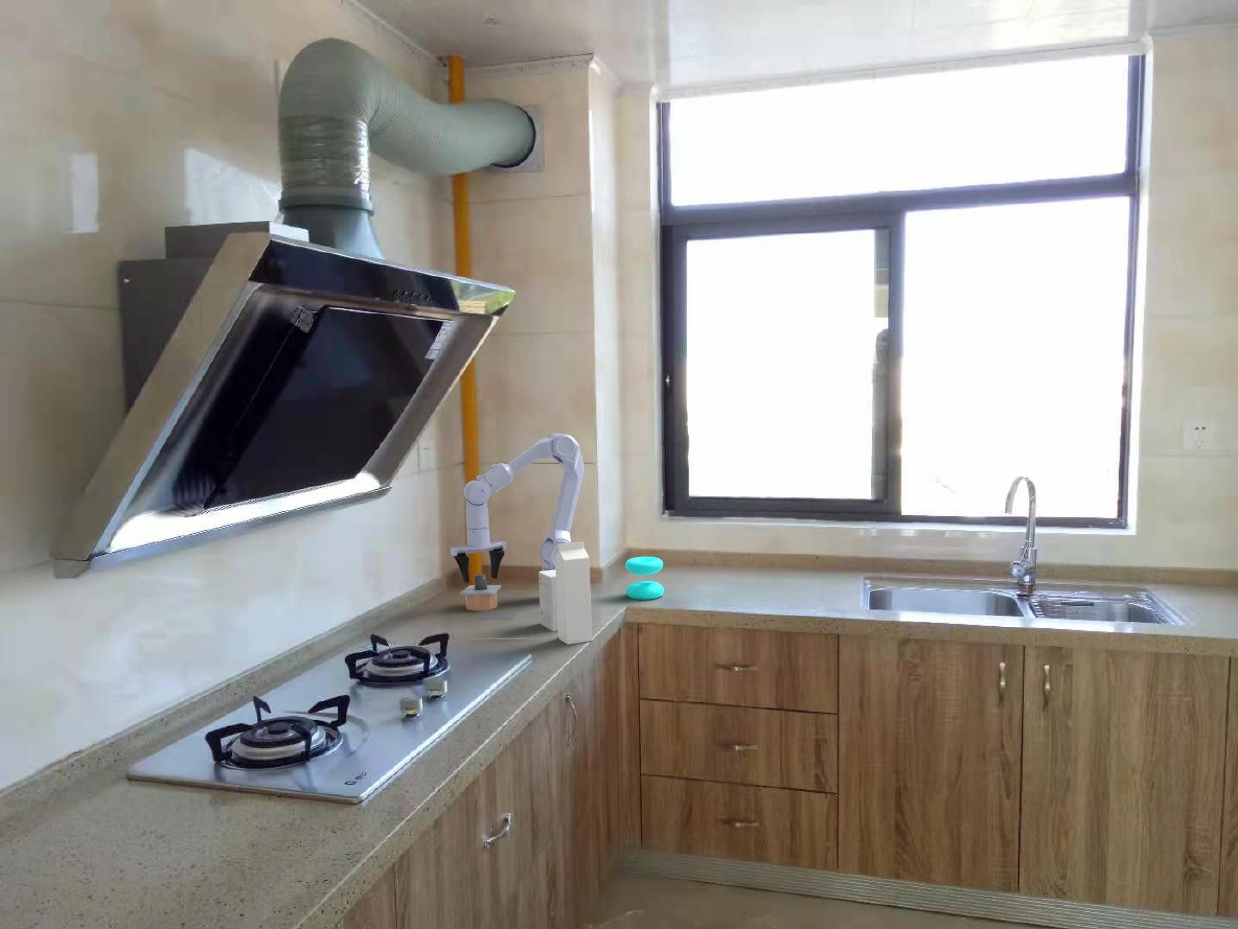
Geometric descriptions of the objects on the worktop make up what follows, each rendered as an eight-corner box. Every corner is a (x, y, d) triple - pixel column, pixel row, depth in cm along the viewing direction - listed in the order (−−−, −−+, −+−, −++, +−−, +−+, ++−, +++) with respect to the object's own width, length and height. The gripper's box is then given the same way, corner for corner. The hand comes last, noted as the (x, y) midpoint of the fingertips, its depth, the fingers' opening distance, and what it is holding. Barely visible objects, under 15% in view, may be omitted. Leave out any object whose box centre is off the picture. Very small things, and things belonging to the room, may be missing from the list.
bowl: (500, 604, 248) (499, 587, 248) (492, 612, 240) (491, 594, 240) (471, 604, 249) (470, 587, 249) (462, 612, 242) (461, 594, 241)
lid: (501, 587, 248) (500, 572, 248) (492, 594, 240) (491, 578, 239) (470, 587, 249) (469, 572, 249) (460, 594, 241) (459, 579, 240)
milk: (592, 641, 210) (589, 543, 208) (566, 645, 208) (563, 546, 206) (582, 634, 216) (579, 539, 214) (557, 638, 214) (554, 541, 211)
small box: (577, 628, 221) (575, 573, 220) (552, 632, 219) (550, 577, 217) (564, 621, 229) (562, 568, 228) (539, 625, 226) (537, 571, 225)
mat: (519, 612, 239) (519, 610, 239) (510, 621, 230) (510, 619, 230) (485, 612, 241) (484, 610, 241) (474, 621, 232) (474, 619, 232)
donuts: (624, 563, 246) (625, 556, 256) (625, 601, 247) (626, 592, 257) (663, 562, 246) (662, 555, 256) (664, 600, 247) (663, 591, 257)
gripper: (498, 523, 250) (500, 573, 251) (445, 528, 243) (448, 581, 244) (508, 526, 244) (511, 578, 245) (454, 532, 237) (457, 585, 238)
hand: (480, 580), depth 244 cm, fingers open, 7 cm apart
